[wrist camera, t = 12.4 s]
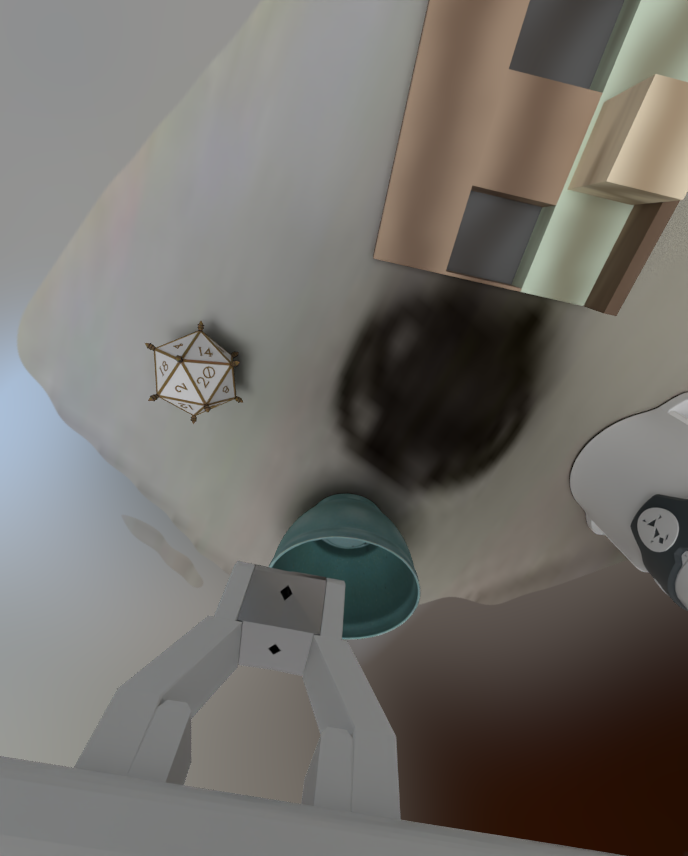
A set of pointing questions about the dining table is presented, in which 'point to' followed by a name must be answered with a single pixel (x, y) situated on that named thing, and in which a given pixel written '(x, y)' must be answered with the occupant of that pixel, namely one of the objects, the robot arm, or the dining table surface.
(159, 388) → the game die
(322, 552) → the flower pot
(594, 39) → the box
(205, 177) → the dining table surface
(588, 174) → the maple block
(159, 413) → the dining table surface
